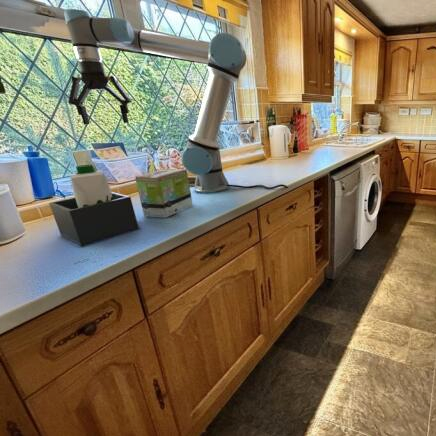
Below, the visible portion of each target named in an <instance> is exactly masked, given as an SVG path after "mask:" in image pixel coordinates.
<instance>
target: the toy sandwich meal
mask: <svg viewBox="0 0 436 436" xmlns="http://www.w3.org/2000/svg"><path fill="white" fill-rule="evenodd" d="M188 181H189V187H195V181H196V175H188Z"/></svg>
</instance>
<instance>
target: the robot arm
mask: <svg viewBox="0 0 436 436" xmlns="http://www.w3.org/2000/svg"><path fill="white" fill-rule="evenodd" d="M63 14H64V20H65V27H66V28H67V32H68V34H69V37H70V41H71V44H72V49H73V52H74V55H75V59H76V60H77V61H78V62H77V66H78V69H79V73H80V77H79V76H73V75H72V76H71V84H72V85H71V88H70V92H69V96H68V100H67V101H68V104H69V105H73V106H75V108H76V111H77V114H78V115H79V116H81V119H82V122H83V123H82V124H83V125H91V123H90V118H89V116H88V112H87V110H86V106H85V105H83V104H84V102H85V100H86V99H87V98H88V95H89V93H90V92H91V91H98V90H101V91H104V90H105V91H106V92H107V93H108V94H110V95H111V96H112V97H113V98H114V99H115V100H116V101H117V102H118V103H120V104H119V105H118V106H119V109H120V113H121V117H122V122H123V124H127V123H128V124H129V121H130V120H129V118H128V114H129V113H130V110H129V106H128V104H130V103H132V102H133V100H132V98H130V96H129V95H128V94H127V92H126V91H125V90H124V88H123V87H122V86H121V84H120V83H119V81H118V77H116V76H115V75H110V76H107V75H106V71H105V70H106V69H105V66H104V63H103V62H102V61H103V58H102V54H101V51H100V45H99V44H115V45H117V46H120V47H122V48H125V49H127V50H129V51H132V52H142V53H150V54H154V55H159V56H165V57H170V58H174V59H175V58H176V59H180V60H186V61H191V62H196V63H202V64H207V65H206V68H207V70H208V72H209V76H208V78H207V79H208V80H207V82H206V83H207V84H206V87H205V91H204V95H203V99H202V103H201V107H200V110H199V114H198V118H197V122H196V126H195V129H194V133H193V134H190V135H189V136H188V140H187V143H186V147H185V148H184V150H183V151H182V153H181V157H180V160H181V161H180V162H181V164H182V166H183V169H184V170H187V172H189V173H190V174H193V175H195V176H196V181H195V186H194V192H195V193H198V194H215V193H221V192H224V191H227V190H228V189H229V188H240V189H253V188H264V189H266V190H274V189H277V188H280V187H284V188H285V189H288V188H289V186H287V185H285V184H277V185H274V186H266V185H263V184H255V185H239V184H238V185H237V184H229V181H228V179H227V177H226V175H225V174H224V171H223V164H222V159H221V151H220V144H219V142H218V137H219V133H220V129H221V126H222V122H223V119H224V115H225V112H226V108H227V105H228V101H229V97H230V94H231V90H232V87H233V83H235V82H237V81H238V80H239V77H240V74H241V71H242V70H243V69H244V67H245V66H246V63H247V54H246V51H245V48H244V46H243V44H242V42H241V40H240V39H238V38H237V37H236V36H234V35H233V34H231V33H229V32H228V33H227V32H219V33H218V34H216V35H214V36H213V37H212V39H211V40H210V42H204V41H198V40H193V39H188V38H184V37H178V36H173V35H168V34H164V33H158V32H152V31H148V30H143V29H138V28H133V26H132V24H131V23H130V22H129V20H128V19H126V18H122V17H117V16H114V17H92V16H91V13H89V12H88V11H86V10H83V9H75V8H69V9H65V10H64V11H63ZM109 82H110V83H111V84H112V85H113V87H114V88H115V89H116V91H117V92H118V93H117V92H116V91H115V90H114V89H112V87H111V86H109V84H108V83H109ZM81 83H83V86H82V88H81V89H82V90H81V91H80V87H81ZM79 92H80V93H79ZM119 94H120V95H119Z"/></svg>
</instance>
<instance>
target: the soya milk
mask: <svg viewBox="0 0 436 436" xmlns="http://www.w3.org/2000/svg"><path fill="white" fill-rule="evenodd" d="M75 168H76V172H75V173H70V181H71V183H70V187H71V188H72V192H73V195H74V198H75V199H76V202H77V205H78V208H81V207H85V206H90V205H94V204H98V203H103V202H107V201H111V200H113V197H112V194H111V192H112V190H111V188H110V184H109V180H108V179H107V176H106V175H105V173H104V171H103V170H101V169H99V170H95V168H94V165H93V164H83V165H77V166H75Z"/></svg>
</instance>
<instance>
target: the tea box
mask: <svg viewBox="0 0 436 436" xmlns="http://www.w3.org/2000/svg"><path fill="white" fill-rule="evenodd" d="M188 176H189V175H188V171H187V170H186V169H185V168H183V169H180V168H177V169H175V168H165V169H161V170H156V171H151V172H149V173H145V174H141V175H137V176H135V177H134V178H135V183H136V187H137V192H138V196H139V201H140V205H141V210H142V213H143V216H144V217H147V218H164V219H166V218H169V217H170V216H172V215H174V214H177V213H179V212H181V211H183V210H185V209H188V208H190V207H193V204H194V203H193V198H192V193H191V188H190V187H191V186H189V181H188Z"/></svg>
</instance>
